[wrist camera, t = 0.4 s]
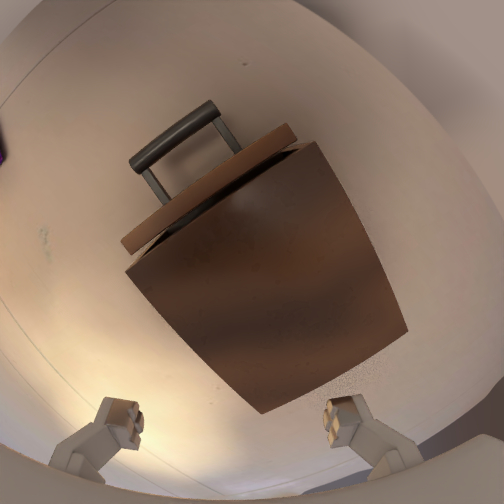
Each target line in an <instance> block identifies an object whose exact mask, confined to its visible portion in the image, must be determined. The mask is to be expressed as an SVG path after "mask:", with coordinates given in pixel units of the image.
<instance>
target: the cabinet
mask: <svg viewBox="0 0 504 504" xmlns="http://www.w3.org/2000/svg"><path fill="white" fill-rule="evenodd" d="M125 273H126V274H127V275H128V277H129V278H130V279H131V280H132V282H133V283H134V284H135V285H136V286H137V288H138V289H139V290H140V291H141V293H142V294H143V295H144V296H145V297H146V298H147V300H148V301H149V302H150V303H151V304H152V306H153V307H154V308H155V309H156V310H157V311H158V312H159V314H160V315H161V316H162V317H163V318H164V319H165V320H166V322H167V323H168V324H169V325H170V326H171V327H172V328H173V329H174V330H175V331H176V333H177V334H178V335H179V336H180V337H181V338H182V339H183V340H184V341H185V342H186V343H187V344H188V345H189V346H190V347H191V348H192V349H193V351H194V352H195V353H196V354H197V355H198V356H199V357H200V358H201V359H202V360H203V361H204V362H205V363H206V364H207V365H208V366H209V367H210V368H211V369H212V370H213V371H214V372H215V373H216V374H217V375H219V376H220V377H221V378H222V379H223V380H224V381H225V382H226V383H227V384H228V385H229V386H230V387H231V388H232V389H233V390H234V391H235V392H237V393H238V394H239V395H240V396H241V397H242V398H243V399H244V400H245V401H247V402H248V403H249V404H250V405H251V406H252V407H253V408H254V409H256V410H257V411H258V412H259V413H260V414H264V413H266V412H268V411H271V410H273V409H275V408H277V407H280V406H282V405H284V404H286V403H288V402H290V401H292V400H294V399H296V398H298V397H300V396H302V395H304V394H306V393H308V392H310V391H312V390H314V389H316V388H318V387H320V386H322V385H324V384H325V383H327V382H329V381H331V380H333V379H334V378H336V377H338V376H340V375H341V374H343V373H345V372H347V371H348V370H350V369H352V368H353V367H355V366H357V365H358V364H360V363H362V362H363V361H365V360H366V359H368V358H370V357H371V356H373V355H374V354H376V353H377V352H379V351H380V350H382V349H384V348H385V347H387V346H388V345H389V344H391V343H392V342H394V341H395V340H397V339H398V338H400V337H401V336H402V335H404V334H405V333H407V332H408V329H407V326H406V323H405V321H404V318H403V315H402V313H401V310H400V308H399V305H398V303H397V300H396V298H395V295H394V293H393V290H392V288H391V286H390V283H389V281H388V279H387V276H386V274H385V272H384V269H383V267H382V265H381V263H380V261H379V258H378V256H377V254H376V252H375V250H374V248H373V246H372V244H371V241H370V239H369V237H368V235H367V233H366V231H365V229H364V227H363V225H362V223H361V221H360V219H359V217H358V215H357V213H356V212H355V210H354V208H353V206H352V204H351V202H350V200H349V198H348V197H347V195H346V193H345V191H344V189H343V187H342V186H341V184H340V182H339V180H338V179H337V177H336V175H335V173H334V172H333V170H332V168H331V166H330V165H329V163H328V161H327V160H326V158H325V156H324V155H323V153H322V151H321V150H320V148H319V147H318V145H317V143H316V142H315V141H313V142H309V143H304V144H300V145H296V146H291V147H287V148H285V149H283V150H282V151H280V152H278V153H277V154H275V155H274V156H272V157H271V158H269V159H267V160H266V161H264V162H263V163H261V164H260V165H258V166H256V167H255V168H253V169H252V170H250V171H249V172H247V173H246V174H244V175H243V176H241V177H240V178H238V179H237V180H235V181H234V182H232V183H231V184H229V185H228V186H226V187H225V188H223V189H222V190H221V191H219V192H218V193H216V194H215V195H213V196H212V197H210V198H209V199H208V200H206V201H205V202H203V203H202V204H201V205H199V206H198V207H196V208H195V209H193V210H192V211H191V212H189V213H188V214H187V215H185V216H184V217H182V218H181V219H180V220H178V221H177V222H176V223H174V224H173V225H172V226H170V227H169V228H168V229H166V230H165V231H164V232H162V233H161V234H160V235H159V236H158V237H157V238H156V239H155V240H154V241H153V242H152V244H151V245H150V246H149V247H148V248H147V249H146V250H145V251H144V252H143V253H142V254H141V255H140V256H139V257H138V258H137V259H136V260H135V262H134V263H133V264H132V265H131V266H130V267H129V268H128V269H127V270H126V271H125Z"/></svg>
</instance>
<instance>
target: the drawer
mask: <svg viewBox="0 0 504 504" xmlns="http://www.w3.org/2000/svg"><path fill="white" fill-rule="evenodd" d="M220 116H221V113H220V112H219V110H218V109H217V107H216V106H215V104H214V103H213V102H212V101H211V100H208V101H207V102H205V103H204V104H202V105H201V106H199V107H198V108H196V109H195V110H193V111H192V112H190V113H189V114H188V115H186V116H185V117H183V118H182V119H181V120H179V121H178V122H176V123H175V124H174V125H172V126H171V127H170V128H168V129H167V130H166V131H164V132H163V133H162V134H160V135H159V136H158V137H156V138H155V139H154V140H153V141H151V142H150V143H149V144H148V145H146V146H145V147H144V148H143V149H141V150H140V151H139V152H138V153H137V154H135V155H134V156H133V157H132V158H131V159H129V164H130V166H131V168H132V169H133V170H134V171H135V172H136V173H137V174H139V175H140V174H142V176H143V177H144V179H145V180H146V181H147V183H148V184H149V186H150V187H151V189H152V190H153V191H154V193H155V194H156V196H157V197H158V198H159V200H160V201H161V203H162V204H163V205H164V206H163V207H161V208H160V209H159V210H157V211H156V212H155V213H154V214H152V215H151V216H150V217H149V218H147V219H146V220H145V221H144V222H142V223H141V224H140V225H139V226H137V227H136V228H135V229H134V230H132V231H131V232H130V233H129V234H128V235H126V236H125V237H124V238H123V239H122V240H121V243H122V244H123V245H124V247H125V248H126V249H127V251H128V252H129V253H130V255H133V254H134V253H135V252H136V251H138V250H139V249H140V248H142V247H143V246H144V245H145V244H147V243H148V242H149V241H151V240H152V239H153V238H154V237H156V236H157V235H158V234H160V233H161V232H162V231H164V230H165V229H166V228H168V227H169V226H170V225H172V224H173V223H174V222H176V221H177V220H178V219H180V218H181V217H183V216H184V215H185V214H187V213H188V212H189V211H191V210H192V209H194V208H195V207H196V206H198V205H199V204H201V203H202V202H203V201H205V200H206V199H208V198H209V197H211V196H212V195H213V194H215V193H216V192H218V191H219V190H221V189H222V188H224V187H225V186H226V185H228V184H229V183H231V182H232V181H234V180H235V179H237V178H238V177H240V176H241V175H243V174H244V173H246V172H247V171H249V170H250V169H252V168H254V167H255V166H257V165H258V164H260V163H261V162H263V161H264V160H266V159H267V158H269V157H271V156H272V155H274V154H275V153H277V152H279V151H280V150H282V149H283V148H285V147H287V146H288V145H290V144H292V143H293V142H295V141H296V140H297V138H296V136H295V135H294V133H293V131H292V130H291V128H290V127H289V125H288V124H287V123H285V124H283V125H281V126H280V127H278V128H277V129H275V130H273V131H272V132H270V133H268V134H267V135H265V136H263V137H262V138H260V139H259V140H257V141H256V142H254V143H252V144H251V145H249V146H248V147H246V148H245V149H242V148H241V147H240V145H239V144H238V142H237V141H236V139H235V138H234V137H233V135H232V134H231V132H230V131H229V129H228V128H227V127H226V125H225V124H224V122H223V121H222V120H221V118H220ZM211 122H212V123H213V124H214V125H215V127H216V128H217V130H218V131H219V132H220V134H221V135H222V137H223V138H224V139H225V141H226V142H227V144H228V145H229V147H230V148H231V149H232V151H233V152H234V154H235V155H234V156H232V157H231V158H229V159H228V160H226V161H225V162H224V163H222V164H221V165H219V166H218V167H216V168H215V169H213V170H212V171H210V172H209V173H208V174H206V175H205V176H203V177H202V178H200V179H199V180H198V181H196V182H195V183H194V184H192V185H191V186H189V187H188V188H187V189H185V190H184V191H183V192H181V193H180V194H179V195H177V196H176V197H174V198H173V199H171V198H170V196H169V195H168V193H167V192H166V191H165V189H164V188H163V186H162V185H161V184H160V182H159V181H158V179H157V178H156V177H155V175H154V174H153V172H152V171H151V169H150V168H149V167H151V166H152V165H153V164H154V163H156V162H157V161H158V160H159V159H161V158H162V157H163V156H165V155H166V154H167V153H169V152H170V151H171V150H173V149H174V148H175V147H177V146H178V145H179V144H181V143H182V142H183V141H185V140H186V139H188V138H189V137H190V136H192V135H193V134H195V133H196V132H197V131H199V130H200V129H202V128H203V127H205V126H206V125H208V124H209V123H211Z"/></svg>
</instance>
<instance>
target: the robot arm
mask: <svg viewBox="0 0 504 504" xmlns="http://www.w3.org/2000/svg"><path fill="white" fill-rule="evenodd" d="M326 405H327V409H326V410H325V411H324V414H323V423H324V428H325V430H326V431H328V432H329V434H328V437H327V438H328V441H329V444H330V448H337V447H343V446H348V445H349V447H350V448H351V449H352V450H354V451H355V452H356V453H357V454H358V455H359V456H361V457H362V458H363V459H364V460H365V461H367V462H368V463H369V464H370V465H371V466H373V467H374V469H373V470H372V472H371V473H370V474H369V476H368V477H367V480H368V481H367V482H364V483H360V484H356V485H352V486H348V487H344V488H339V489H334V490H329V491H324V492H319V493H313V494H306V495H299V496H291V497H282V498H271V499H255V500H206V499H190V498H179V497H170V496H162V495H155V494H149V493H143V492H138V491H133V490H128V489H123V488H119V487H114V486H110V485H106V484H105V482H106V481H105V479H104V478H103V477H102V476H101V475H100V473H99V472H98V471H99V470H100V469H101V468H102V467H103V466H104V465H105V464H106V463H107V462H108V461H109V460H110V459H111V458H112V457H113V456H114V455H115V454H116V453H117V452H118V451H119V450H120V449H121V448H124V449H131V450H138V449H139V445H140V441H141V438H140V436H139V434H140V433H142V432H143V428H144V417H143V414H142V412H140V411H139V404H138V402H135V401H129V400H123V399H117V398H111V397H105V398H104V399H103V401H102V403H101V405H100V408H99V410H98V413H97V415H96V418H95V420H94V423H92V422H90V423H89V424H87V425H86V426H85V427H83V428H82V429H80V430H79V431H77V432H76V433H74V434H73V435H71V436H70V437H68V438H67V439H65V440H64V441H62V442H61V443H59V444H58V445H57V446H56V448H55V450H54V453H53V455H52V457H51V460H50V462H49V465H46V464H43V463H41V462H39V461H36V460H34V459H32V458H30V457H28V456H25V455H23V454H21V453H19V452H17V451H15V450H13V449H11V448H9V447H7V446H5V445H4V444H2V443H0V504H504V442H503V441H501V440H499V439H496V438H494V437H491V436H489V435H485V434H481V435H478V436H476V437H474V438H473V439H471V440H469V441H467V442H465V443H463V444H461V445H459V446H458V447H456V448H454V449H451V450H450V451H447V452H445V453H443V454H441V455H439V456H437V457H434V458H432V459H430V460H428V461H425V462H424V460H423V458H422V456H421V454H420V452H419V450H418V448H417V446H416V444H415V442H414V441H412V440H410V439H409V438H407V437H405V436H404V435H402V434H400V433H398V432H397V431H395V430H394V429H392V428H390V427H389V426H387V425H385V424H384V423H382V422H380V421H379V420H377V419H376V420H374V419H373V417H372V414H371V412H370V410H369V408H368V406H367V404H366V402H365V400H364V397H363V395H361V394H358V395H352V396H345V397H339V398H333V399H329V400H328V401H327V404H326Z"/></svg>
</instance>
